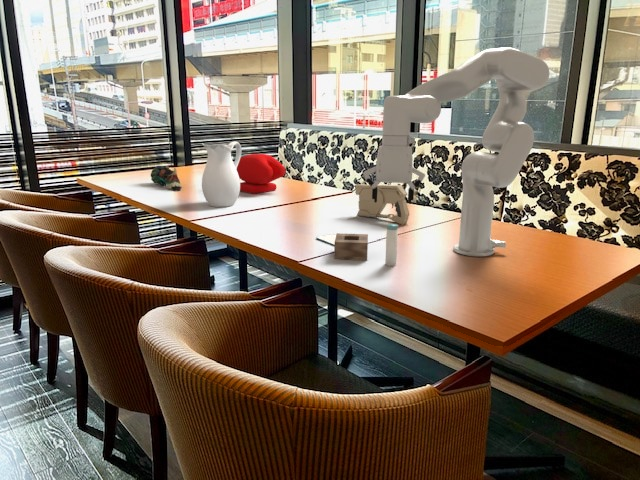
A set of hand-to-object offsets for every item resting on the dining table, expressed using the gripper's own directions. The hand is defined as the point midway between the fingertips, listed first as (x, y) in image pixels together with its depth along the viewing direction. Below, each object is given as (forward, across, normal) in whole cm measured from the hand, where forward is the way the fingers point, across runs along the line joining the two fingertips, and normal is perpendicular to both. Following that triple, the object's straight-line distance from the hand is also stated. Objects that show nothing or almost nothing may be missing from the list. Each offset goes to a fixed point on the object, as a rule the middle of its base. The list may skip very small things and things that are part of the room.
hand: (392, 202), depth 148 cm
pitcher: (+19, +72, -81) cm, 110 cm away
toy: (+19, +64, -113) cm, 131 cm away
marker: (+19, 0, 0) cm, 19 cm away
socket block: (+19, +12, -8) cm, 24 cm away
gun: (+19, +2, -57) cm, 60 cm away
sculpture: (+20, +114, -120) cm, 167 cm away
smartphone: (+20, +16, -22) cm, 34 cm away
